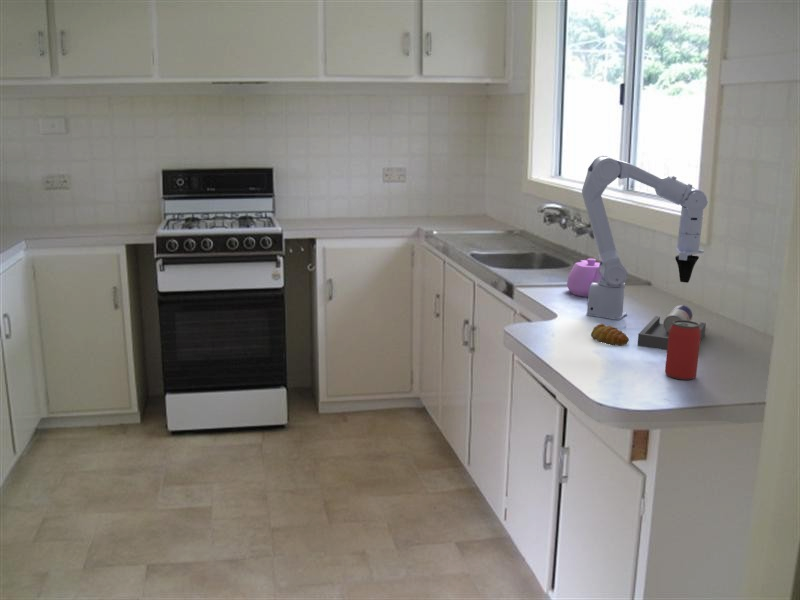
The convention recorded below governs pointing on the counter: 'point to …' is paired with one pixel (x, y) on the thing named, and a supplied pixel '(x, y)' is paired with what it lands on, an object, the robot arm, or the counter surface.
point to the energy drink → (677, 316)
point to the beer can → (683, 350)
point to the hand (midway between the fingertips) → (684, 281)
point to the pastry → (609, 335)
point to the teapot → (583, 277)
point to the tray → (658, 335)
